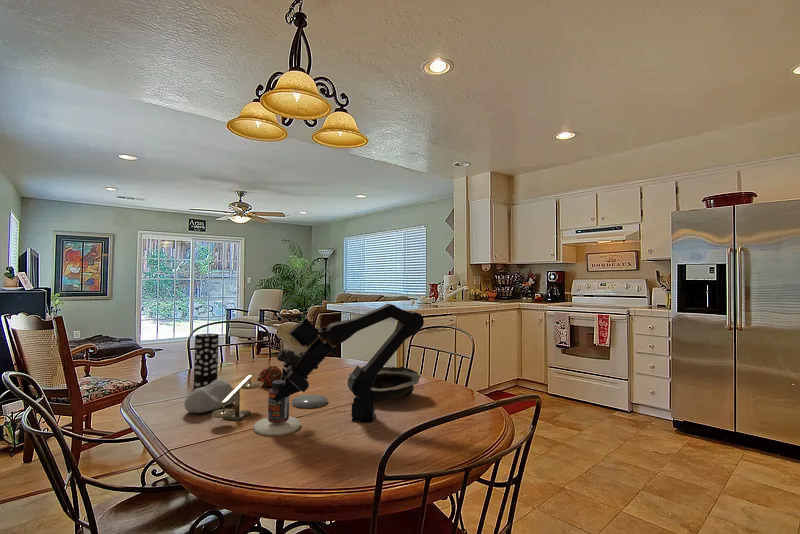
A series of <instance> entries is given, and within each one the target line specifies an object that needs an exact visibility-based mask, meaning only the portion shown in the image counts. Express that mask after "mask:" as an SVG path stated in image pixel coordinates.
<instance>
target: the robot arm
mask: <svg viewBox="0 0 800 534" xmlns="http://www.w3.org/2000/svg"><path fill="white" fill-rule="evenodd" d="M389 318H392V319H394V320H396V321H397V324H396V325H395V329H394V330H393V332H392V333H391V335H390V336H389V337H388V338H387V339H386V341H384V343H383V344H382V345H381V347H380V348H379V349H378V350H377V351H376V352H375V354H374V355H373V356H372V357H371V359H370V360H369V361H368V362H367V363H366V364H365V365H364V366H362V367H360V366H359V365H356V366H355V368H354V370H353V371H352V372H351V373H349V374H348V379H347V387H348V389H349V390H350V391H351V393H352V394H353V395H354V396H355V397H354V398H353V402H352V403H351V415H350V416H351V421H352V422H365V423H373V422H374V420H375V418H376V417H377V414H376V412H375V411H376V398H377V394H376V393H375V392H374V391H373V390H371V387H372V386H373V384H374V381H375V378H376V375H377V374H378V372H379V371H380V370H381V369H382V367H385V366H386V364H387V363H388V362H389V360H390V359H391V358H392V357H393V356H394V354H395V353H396V352H397V351H398V349H399V348H400V347H401V345H403V343H405V341H406V340H407V339H409V338H410V337H412V336H414V335H415V334H416V333H418V332H419V331H420V330H421V329H422V328H423V327H424V325H425V322H424V321H425V320H424V317H423V315H422V314H421V313H419V312H415V311H411V310H405V309H402V308H400V307H398V306H396V305H395V304H391V303H386V304H384V305H383V306H381V307H378V308H376V309H373V310H371V311H369V312H366V313H363V314H361V315H359V316H356V317H354V318H351V319H345V320H340V321H339V320H338V321H335V322H331V323H329V324H328V325H327V326H324V327H319V328H317V327H316V326H315V325H314V324H312V323H311V321H310V319H309V318H307V317H304V318H303V319H302V320H300V321H299V322H298V323H296V324H295V325H294V326H293V327H292V328H291V329H290V331H289V332H288V335H290V336H291V337H292V338H293V340H295V341H296V342H297V343H298V344H299V345H300V346H301V347H304V346H306V347H307V349H306V350H304V351H300V352H299V354H298V353H295V352H294V350H291V349H286V348H284V347H281V348H280V349H279V351H278V354H277V355H276V360H277V361H278V362H282V363H283V364H282V366H283V367H282V368H281V369H282V371H281V372H282V377H281V379H280V380H285V383H284V384H283V386H282V387H281V389H280V390H279V391H278V393H277V394H276V396H275V397H274V400H275V401H278V400H280V399H283V398H285V397H287V396H289V397H290V396H291V395H294V394H297V393H301V392H302V393H305V392H306V391H307V390H308V388H309V387H310V386H309V385H310V384H309V381H308V379H309V376H310V374H311V373H312V372H313V371H314V370H318V368H319V365H320V364H321V363H322V362H323V361H324V360H325V358H326V357H327V356H329V354H332V355H333V356H334V357H336V356H338V352H337V351H338V350H337V349H338V347H337V346H336V345H339V344H343V343H344V342H346V341H347V340H349V339H350V338H351V337H353V336H354V335H355V334H356V333H357V332H359V331H361V330H363V329H366V328H369V327H371V326H373V325H376V324H378V323H379V322H380V323H381V322H382V321H385V320H387V319H389ZM318 335H319V336H320V337H321V338H322V339H325V340H322V339H321V338H319V336H318ZM328 341H330V342H331V343H332V344H336V345H332V344H331V343H330V342H328ZM308 346H309V347H308Z"/></svg>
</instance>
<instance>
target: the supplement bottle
mask: <svg viewBox="0 0 800 534" xmlns="http://www.w3.org/2000/svg"><path fill="white" fill-rule="evenodd" d="M284 383H285V380H276V381H273V382H272V387H271V388H270V389H269V391H268V399H267V400H268V401H267V402H268V403H267V405H268V406H267V418H268V421H269V422H271V423H283V422H286V421H287V420H288V419H289V417H290V395H289V396H287V397H285V398H283V399H280V400H278V401H275V400H274V397H275V396H276V394H277V393H278V391H279V390H280V389H281V387H282V386H283V384H284Z"/></svg>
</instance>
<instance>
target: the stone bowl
mask: <svg viewBox="0 0 800 534" xmlns="http://www.w3.org/2000/svg"><path fill="white" fill-rule="evenodd" d="M420 377H421V374H419V373H418V372H417V371H415V370H413V369H411V368H410V367H409V368H407V367H404V366H400V367H395V366H392V367H391V366H383V367H382V369H381V370H380V371H379V372H378V374H377V375H376V378H375V381H374V384H373V386H372V387H371V390H373V391H374V392H375V393H376V394H377V398H376V401H379V400H381V401H382V400H389V399H393V398H396V397H400V396H406V397H408V396H412V394H413V391H414V389H415V388H414V386H415V385H417V384H418V383H419V380H420ZM376 401H375V402H376Z"/></svg>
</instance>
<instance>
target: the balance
mask: <svg viewBox="0 0 800 534" xmlns="http://www.w3.org/2000/svg"><path fill="white" fill-rule="evenodd" d="M252 377H253V376H252V375H251V374H250V375H248V376H246V377H245V379H243V380H242V381H241V382H240V383H239V384H238V386H236V387H235V388H233V391H232V392H231V393H230V394H229V395H228V396H227V397H226V398H225V399H224V400H223V401H222V404H223V407H222V409H221V408H219V409H215V410H212V412H211V417H212V418H214V419H222V420H226V421H227V420H231V421H240V422H241V421H242V420H244V419H246V418H247V417H249V416H251V414H252V411H251V410H242V409H240V407H241V405H240V403H241V402H240V401H241V389H243V390H255V389H258V388H260V387H261V383H260V382H258V381H257V382H256V381H254V382H253V381H252V379H253V378H252ZM234 395H235V402H234V409H232V408H226V406H225V405H226V404H227V403H228V401H229V400H230V399H231V398H232V397H233V396H234Z"/></svg>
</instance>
